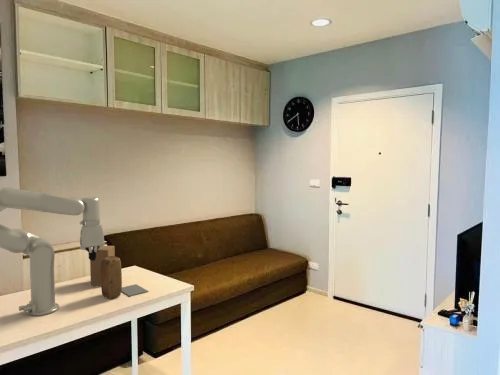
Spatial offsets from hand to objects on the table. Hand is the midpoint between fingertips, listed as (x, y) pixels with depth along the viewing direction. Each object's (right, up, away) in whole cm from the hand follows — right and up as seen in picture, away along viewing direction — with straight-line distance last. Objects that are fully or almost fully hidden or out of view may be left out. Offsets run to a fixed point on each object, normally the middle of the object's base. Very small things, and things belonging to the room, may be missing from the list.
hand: (92, 259), depth 178 cm
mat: (+15, -19, +16) cm, 29 cm away
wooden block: (-6, -18, +28) cm, 34 cm away
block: (+6, -20, +8) cm, 22 cm away
